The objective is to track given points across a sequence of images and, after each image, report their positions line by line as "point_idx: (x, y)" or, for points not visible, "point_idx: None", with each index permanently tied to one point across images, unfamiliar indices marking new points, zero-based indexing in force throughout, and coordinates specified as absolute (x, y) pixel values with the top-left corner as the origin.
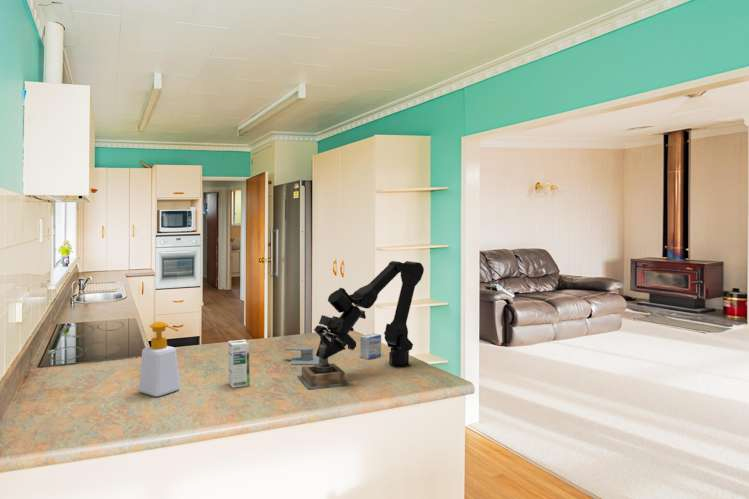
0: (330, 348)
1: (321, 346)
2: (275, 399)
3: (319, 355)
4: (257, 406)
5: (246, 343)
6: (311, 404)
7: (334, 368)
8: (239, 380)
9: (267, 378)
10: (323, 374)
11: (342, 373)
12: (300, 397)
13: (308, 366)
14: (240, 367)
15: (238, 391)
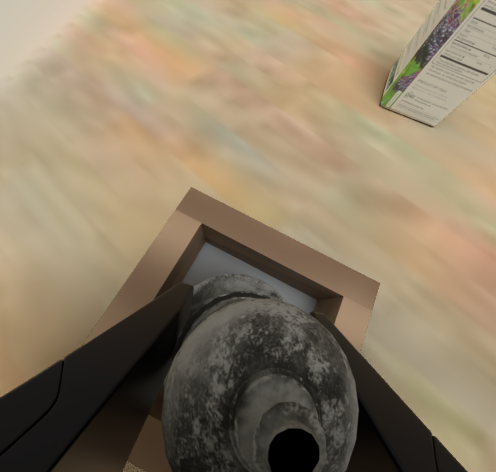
0: (15, 396)
1: (237, 303)
2: (211, 71)
3: (247, 292)
4: (207, 18)
5: None
6: (70, 96)
7: None
8: (401, 61)
9: (421, 191)
10: (152, 254)
11: None
12: (155, 121)
13: (354, 314)
14: (442, 4)
15: (353, 63)
